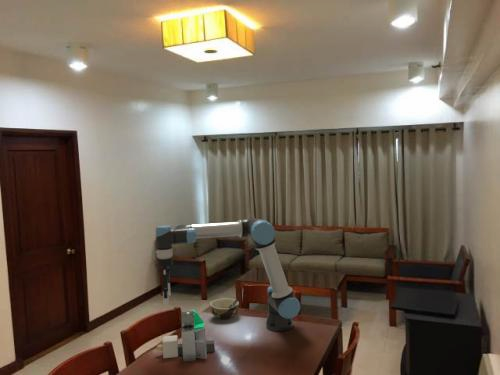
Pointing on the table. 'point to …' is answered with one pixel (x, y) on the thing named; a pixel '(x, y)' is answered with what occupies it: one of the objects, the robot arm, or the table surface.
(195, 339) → the housing
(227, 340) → the table surface
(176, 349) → the grey beam
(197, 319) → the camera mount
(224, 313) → the bowl
